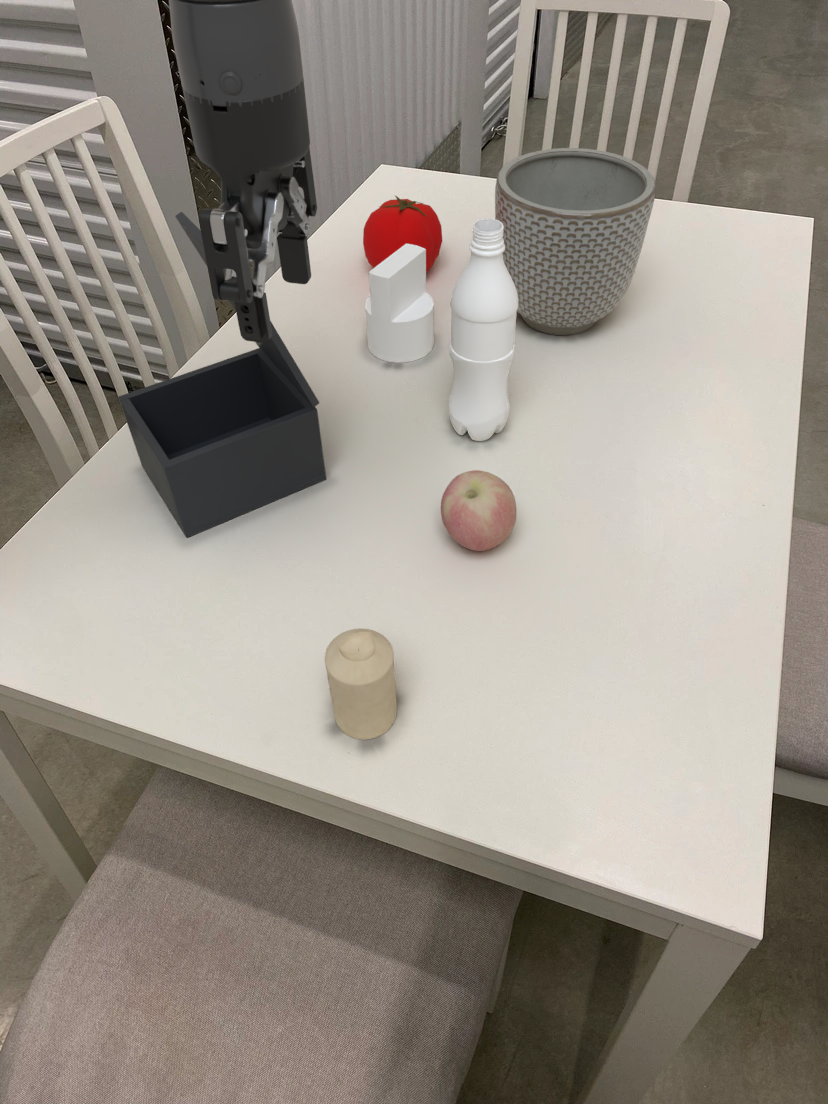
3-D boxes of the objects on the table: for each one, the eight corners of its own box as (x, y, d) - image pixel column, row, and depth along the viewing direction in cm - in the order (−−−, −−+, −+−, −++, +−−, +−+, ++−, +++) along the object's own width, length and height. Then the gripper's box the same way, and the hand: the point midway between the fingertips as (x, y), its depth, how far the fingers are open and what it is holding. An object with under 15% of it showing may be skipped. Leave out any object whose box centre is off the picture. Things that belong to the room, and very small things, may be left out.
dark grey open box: (186, 538, 87) (163, 467, 79) (142, 466, 95) (117, 396, 87) (326, 479, 92) (317, 409, 85) (273, 416, 100) (261, 347, 93)
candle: (366, 675, 74) (359, 606, 67) (410, 711, 72) (407, 643, 64) (321, 713, 72) (308, 646, 64) (364, 752, 69) (356, 686, 62)
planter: (459, 312, 116) (462, 176, 102) (555, 266, 124) (571, 134, 110) (561, 373, 105) (580, 231, 91) (659, 319, 114) (690, 180, 100)
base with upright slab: (410, 370, 107) (408, 285, 98) (354, 350, 110) (347, 266, 101) (446, 337, 112) (447, 254, 103) (391, 319, 115) (387, 237, 106)
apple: (436, 515, 88) (436, 459, 82) (506, 509, 89) (511, 453, 83) (445, 570, 83) (446, 514, 77) (519, 564, 83) (526, 507, 77)
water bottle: (476, 454, 95) (486, 250, 77) (436, 425, 99) (436, 223, 80) (520, 429, 98) (540, 226, 80) (479, 401, 102) (490, 202, 83)
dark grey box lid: (232, 275, 71) (279, 242, 71) (174, 215, 79) (216, 186, 79) (313, 407, 85) (352, 379, 85) (257, 345, 93) (292, 320, 93)
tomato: (382, 299, 119) (378, 224, 111) (354, 264, 126) (348, 191, 118) (456, 281, 122) (457, 207, 114) (424, 248, 129) (424, 176, 121)
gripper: (231, 36, 56) (266, 259, 68) (132, 111, 47) (193, 354, 59) (335, 43, 55) (353, 269, 67) (255, 121, 45) (292, 368, 57)
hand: (278, 309), depth 63 cm, fingers open, 8 cm apart
